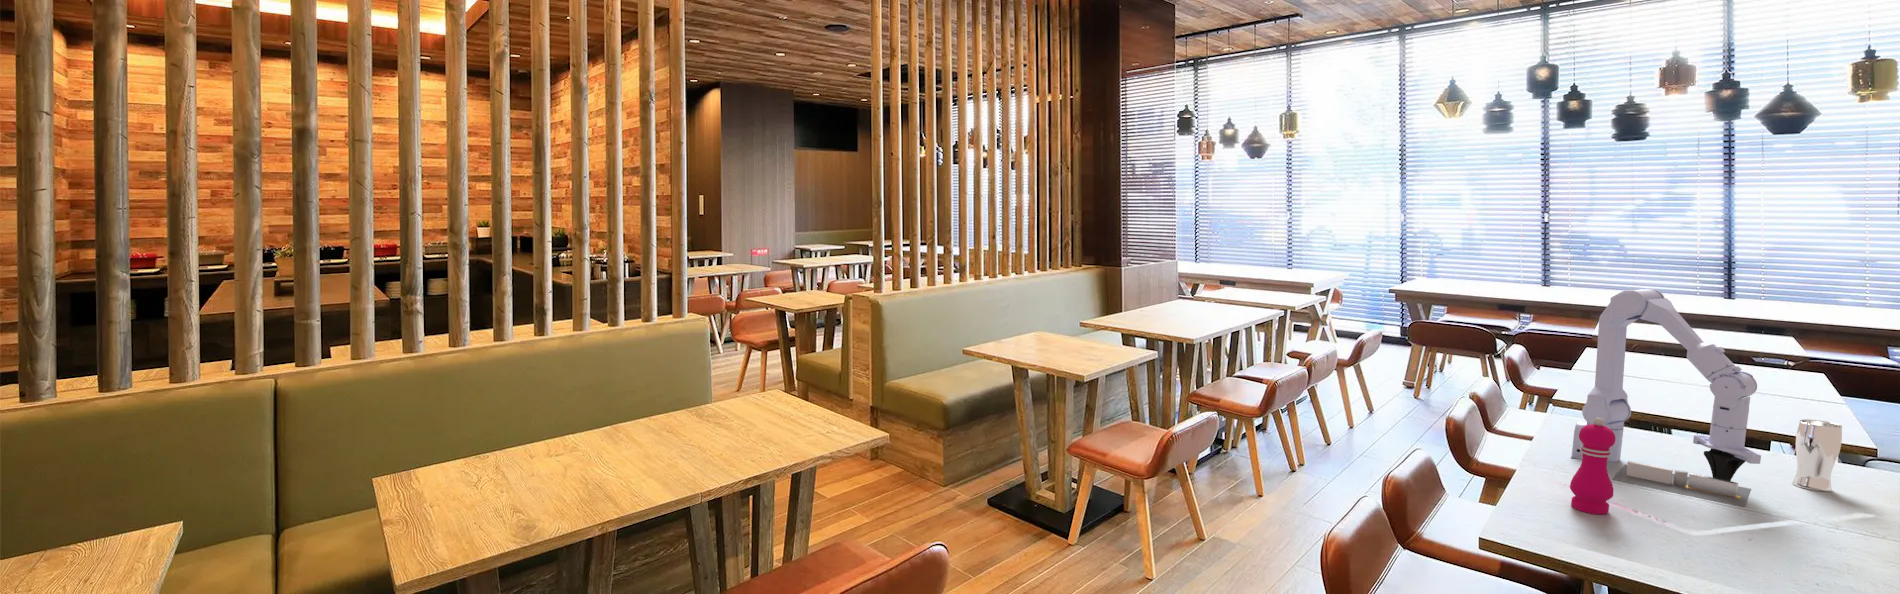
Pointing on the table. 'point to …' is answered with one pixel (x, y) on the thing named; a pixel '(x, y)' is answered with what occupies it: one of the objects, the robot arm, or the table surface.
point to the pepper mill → (1593, 470)
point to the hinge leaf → (1713, 485)
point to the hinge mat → (1683, 490)
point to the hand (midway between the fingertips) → (1721, 484)
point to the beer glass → (1816, 453)
